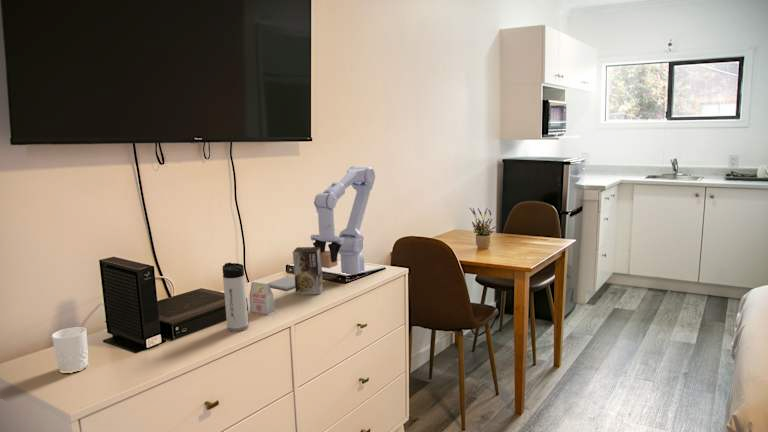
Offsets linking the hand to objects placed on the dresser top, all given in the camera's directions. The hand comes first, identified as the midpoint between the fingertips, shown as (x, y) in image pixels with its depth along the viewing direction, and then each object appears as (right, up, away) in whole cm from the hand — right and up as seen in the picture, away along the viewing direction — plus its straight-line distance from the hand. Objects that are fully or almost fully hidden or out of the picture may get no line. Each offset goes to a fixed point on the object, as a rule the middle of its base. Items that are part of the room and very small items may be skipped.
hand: (328, 260), depth 215 cm
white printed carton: (-19, -15, -26) cm, 35 cm away
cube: (0, -2, 0) cm, 2 cm away
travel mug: (-24, -18, -39) cm, 49 cm away
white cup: (-60, -23, -64) cm, 91 cm away
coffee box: (-6, -11, -6) cm, 14 cm away
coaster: (-16, -9, +5) cm, 19 cm away
